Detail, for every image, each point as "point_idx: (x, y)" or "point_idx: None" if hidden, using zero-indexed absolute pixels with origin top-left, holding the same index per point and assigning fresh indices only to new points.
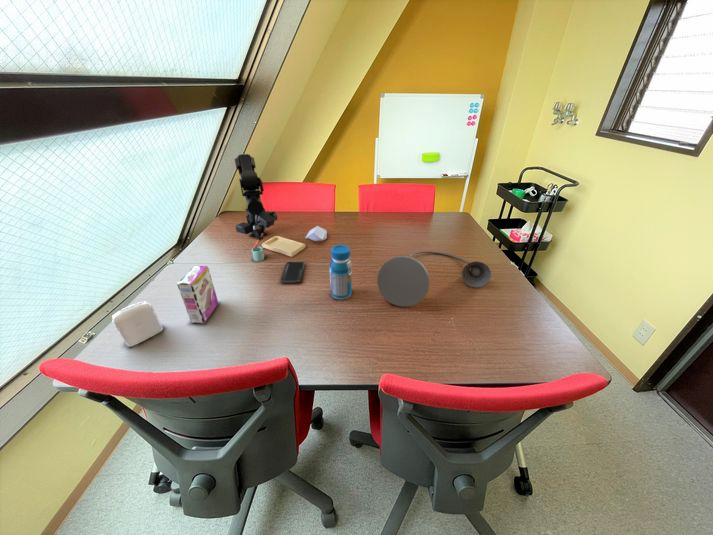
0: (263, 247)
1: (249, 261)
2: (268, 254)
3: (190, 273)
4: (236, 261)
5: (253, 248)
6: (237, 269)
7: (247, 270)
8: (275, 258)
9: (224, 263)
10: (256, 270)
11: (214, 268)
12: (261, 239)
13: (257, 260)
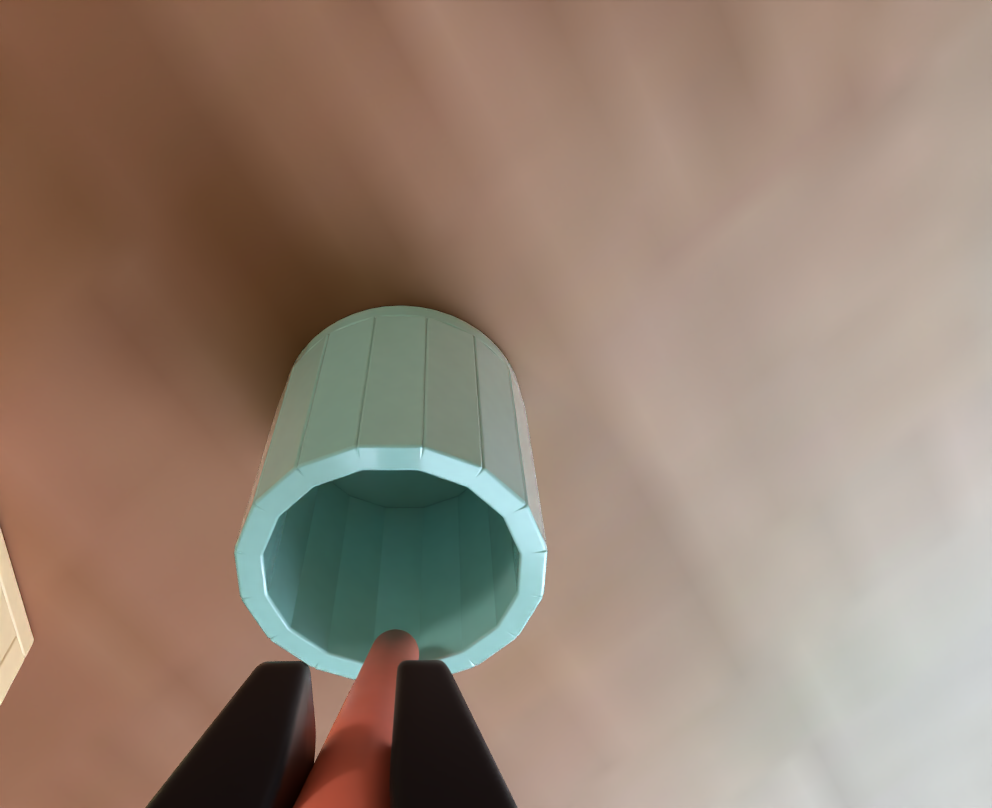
0: (24, 620)
1: (591, 485)
2: (146, 359)
3: None
4: (688, 652)
5: None
6: (926, 467)
7: (910, 284)
8: (169, 74)
9: (812, 739)
10: (856, 105)
11: (986, 745)
12: (312, 697)
13: (508, 371)
